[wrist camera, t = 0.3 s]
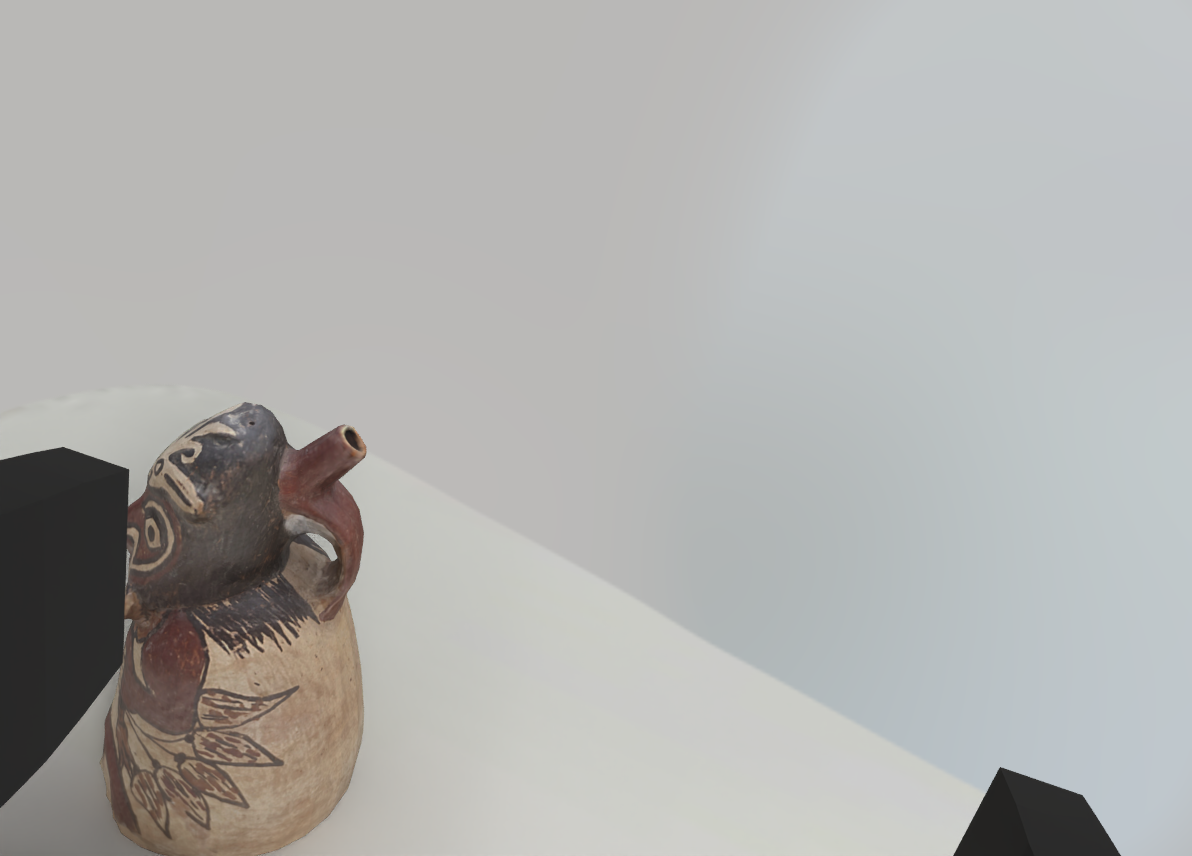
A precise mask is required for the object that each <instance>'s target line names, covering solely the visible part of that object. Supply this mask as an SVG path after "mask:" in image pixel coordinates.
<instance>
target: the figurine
mask: <svg viewBox="0 0 1192 856" xmlns="http://www.w3.org/2000/svg"><path fill="white" fill-rule="evenodd" d="M365 455H366V446H365V444H364V442H363V441H362V439H361V437H360V436H359V434H358V433H357V432H356V430H355V429H354V427H351V426H348V425H341V426H338V427H337V428H335V429H333V430H332V431H330V432H328V433H327V434H325V435H323V436H322V437H320V438H318V439H317V440H315V441H313V442H312V443H310V444H309V445H307V446H306V447H304V448H302V449H300V450H295V449H294V448H293V447H292V446H290V445H289V444H288V443H287V440H286V437H285V434H284V431H283V428H282V426H281V424H280V423H279V422H278V420H277V419H276V417H275V416H274V414H273V413H272V412H271V411H270V410H268V409H266V408H265V407H263V406H262V405H257V404H252V403H246V402H244V403H241V404H238V405H236V406H233V407H231V408H228V409H226V410H224V411H222V412H220V413H218V414H216V415H214V416H213V417H211V418H209V419H204V420H202V421H200V422H199V423H197V424H196V425H194V426H193V427H191V428H190V429H188V430H187V431H186V432H184V433H183V434H182V435H181V436H179V437H178V438H177V439H176V440H175V441H174V442H173V443H172V444H171V445H169V446H168V447H167V448H166V449H165V450H164V452H163V453H162V454H161V455H160V456H159V457H158V458H157V460H156V462H155V463H154V465H153V466H152V468H151V469H150V471H149V474H148V480H147V487H146V490H145V492H144V494H143V495H142V496H141V497H140V498H139V499H138V500H136V501H135V502H134V503H132V504H131V505H130V506H129V507H128V519H127V549H128V551H129V553H130V558H129V574H128V583H127V586H126V588H125V613H124V619H128V618H129V619H132V620H133V621H132V624H131V626H130V629H129V631H128V634H127V638H126V642H125V646H124V651H123V663H122V665H121V669H120V674H119V680H118V684H117V689H116V693H115V696H114V699H113V702H112V704H111V707H110V709H109V712H108V715H107V717H106V720H105V738H104V749H103V756H102V758H101V761H100V765H101V768H102V771H103V774H104V778H105V782H106V796H107V798H108V799H109V801H110V802H111V806H112V809H113V818H114V819H115V821H116V823H117V825H118V827H119V829H120V831H121V833H122V834H123V835H125V836H126V837H127V838H129V839H130V840H131V841H133V842H134V843H136V844H137V845H139V846H140V847H142V848H145V849H147V850H150V851H153V852H155V853H158V854H161V855H165V856H256V855H260V854H264V853H267V852H271V851H275V850H278V849H280V848H282V847H284V846H286V845H288V844H290V843H292V842H294V841H296V840H298V839H299V838H301V837H303V836H305V835H306V834H307V833H309V832H310V831H311V830H312V829H313V828H315V827H316V826H317V825H318V824H319V823H321V822H322V821H323V820H324V819H325V818H327V817H328V816H329V814H330V813H331V812H332V810H333V809H334V807H335V806H336V805H337V803H338V802H339V800H340V799H341V798H342V796H343V795H344V793H345V792H346V790H347V789H348V786H349V783H350V780H351V777H352V773H353V770H354V766H355V763H356V759H357V756H358V752H359V749H360V745H361V740H362V734H363V720H364V707H363V689H362V675H361V664H360V658H359V651H358V645H357V640H356V634H355V628H354V623H353V619H352V614H351V610H350V606H349V602H348V598H347V592H348V591H349V589H350V588H351V586H352V585H353V583H354V582H355V579H356V576H357V573H358V570H359V567H360V560H361V553H362V546H363V536H364V532H363V526H362V521H361V516H360V511H359V508H358V506H357V504H356V503H355V501H354V499H353V497H352V495H351V494H350V493H349V492H348V490H347V489H346V488H345V487H344V486H343V485H342V484H341V482H340V481H339V480H338V479H340V478H341V477H342V476H344V475H345V474H346V473H347V472H348V471H349V470H351V469H352V468H353V467H354V466H355V465H357V464H358V463H359V462H360V461H361V460H362V459H364V458H365ZM306 533H314V534H319V535H320V536H322V537H324V538H325V539H327V540H328V541H329V542H330V543H331V544H332V545H333V547H334V550H335V552H336V554H337V557H338V558H337V559H336V560H335V561H331V560H330V558H329V557H328V555H327V554H326V552H325V551H324V550H323V549H322V548H321V547H320V546H318V545H317V544H316V543H315V542H314V541H313V540H312V539H311V538H310V537H309V536H308V535H307V534H306Z"/></svg>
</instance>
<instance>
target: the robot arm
mask: <svg viewBox="0 0 1192 856" xmlns="http://www.w3.org/2000/svg"><path fill="white" fill-rule="evenodd" d="M128 488H129V469H126V468H123V467H120V466H117V465H114V464H111V463H108V462H106V461H103V460H100V459H97V458H94V457H91V456H88V455H85V454H82V453H79V452H76V451H73V450H70V449H67V448H65V447H61V448H56V449H51V450H45V451H40V452H35V453H30V454H25V455H21V456H17V457H12V458H8V459H4V460H0V808H1V807H2V806H3V805H4V804H5V803H6V802H7V801H8V800H9V799H10V798H11V797H12V796H13V795H14V794H15V793H16V792H17V791H18V790H19V789H20V788H21V787H22V786H23V785H24V784H25V783H26V782H27V781H28V779H29V778H30V777H31V776H32V775H33V774H34V773H35V772H36V771H37V770H38V769H39V768H40V767H41V766H42V765H43V764H44V763H45V762H46V761H47V760H48V758H49V757H50V756H51V755H52V753H53V752H54V751H55V750H56V748H57V747H58V746H59V745H60V744H61V742H62V741H63V740H64V739H65V737H66V736H67V735H68V734H69V732H70V731H71V730H72V729H73V727H74V726H75V725H76V724H77V722H78V721H79V720H80V719H81V718H82V716H83V715H84V714H85V712H86V711H87V710H88V708H89V707H90V706H91V704H92V703H93V702H94V700H95V699H96V698H97V696H98V695H99V694H100V692H101V691H102V690H103V688H104V687H105V686H106V684H107V683H108V682H109V680H110V679H111V678H112V676H113V675H114V674H115V672H116V671H117V670H118V669H119V667H120V666H121V665H122V663H123V645H124V613H125V582H126V551H127V519H128ZM953 856H1121V855H1120V854H1119V853H1118V851H1117V849H1116V847H1115V846H1114V844H1113V842H1112V841H1111V839H1110V837H1109V836H1108V834H1107V833H1106V831H1105V829H1104V828H1103V826H1102V825H1101V823H1100V821H1099V820H1098V818H1097V817H1096V815H1095V814H1094V812H1093V811H1092V809H1091V808H1090V806H1089V805H1088V803H1087V802H1086V800H1085V798H1084V797H1083V795H1080V794H1077V793H1074V792H1071V791H1069V790H1066V789H1062V788H1060V787H1057V786H1054V785H1051V784H1048V783H1045V782H1042V781H1039V780H1036V779H1033V778H1030V777H1028V776H1025V775H1022V774H1019V773H1016V772H1013V771H1010V770H1007V769H1004V768H1001V767H1000V768H999V770H998V772H997V774H996V776H995V778H994V780H993V781H992V783H991V785H990V787H989V789H988V791H987V793H986V795H985V797H984V798H983V800H982V802H981V804H980V806H979V808H978V810H977V812H976V814H975V816H974V817H973V819H972V821H971V823H970V825H969V827H968V829H967V831H966V833H965V835H964V836H963V838H962V840H961V842H960V844H959V846H958V848H957V850H956V852H955V853H954V855H953Z"/></svg>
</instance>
